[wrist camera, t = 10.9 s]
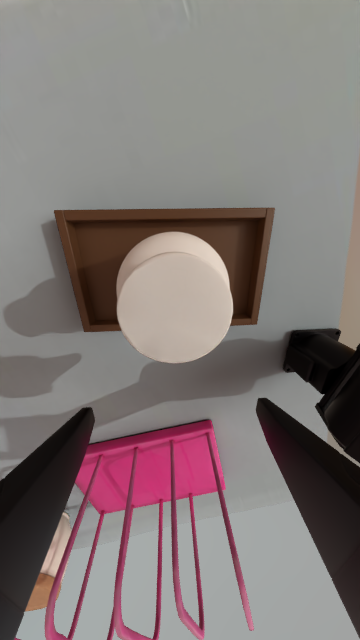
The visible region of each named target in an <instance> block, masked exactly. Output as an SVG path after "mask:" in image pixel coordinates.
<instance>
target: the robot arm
mask: <svg viewBox="0 0 360 640" xmlns="http://www.w3.org/2000/svg"><path fill="white" fill-rule="evenodd" d="M340 334H341V331H340V330H338V329H316V330H296V331H293V332H292V334H291V338H290V342H289V346H288V350H287V354H286V358H285V362H284V367H283V370H284V371H285V372H287V373H288V372H296V373H297V374H298V375H299V376H300V377H301V378H302V379H303V380H304V381H305V382H309V383H310V384H311V385H312V386H313V387H314V388H315V389H316V390H317V391H319V392H320V393H321V394H325V395H324V396H323V397H322V399H321V400H320V402H319V403H317V404H316V406H315V408H316V409H317V411H318V413H319V414H320V416H321V418H322V419H323V421H324V423H325V424H326V426H327V428H328V430H329V431H330V433H331V434H332V436H333V437H334V439H335V440H336V442H337V443H338V444H339V446H340V447H342V448H343V449H344V452H346V453H347V454H348V455H349V456H351V457H352V458H353V459H355V460H356V461H358V462H359V463H360V344H359V345H358V346H357V350H356V351H355V350H353V349H351V348H349V347H348V346H346V345H344V344H342V343H340V342H338V339H339V336H340ZM256 413H257V416H258V419H259V422H260V424H261V427H262V430H263V433H264V435H265V438H266V441H267V443H268V445H269V448H270V450H271V452H272V454H273V456H274V458H275V460H276V462H277V465H278V467H279V469H280V471H281V473H282V475H283V477H284V479H285V481H286V484H287V486H288V488H289V490H290V492H291V494H292V496H293V498H294V500H295V503H296V505H297V507H298V509H299V511H300V513H301V515H302V517H303V519H304V522H305V524H306V526H307V528H308V530H309V532H310V534H311V536H312V538H313V541H314V543H315V545H316V547H317V549H318V551H319V553H320V555H321V557H322V560H323V562H324V564H325V566H326V568H327V570H328V572H329V574H330V576H331V578H332V581H333V583H334V585H335V587H336V589H337V591H338V594H339V596H340V598H341V600H342V602H343V604H344V606H345V608H346V611H347V613H348V615H349V617H350V619H351V621H352V623H353V625H354V627H355V630H356V632H357V634H358V636H359V638H360V467H359V466H357V465H356V464H354V463H353V462H352V461H350V460H349V459H348V458H346V457H345V456H344V455H342V454H340V453H339V452H338V451H337V450H336V449H334V448H333V447H331V446H330V445H329V444H327V443H326V442H325V441H323V440H322V439H321V438H319V437H318V436H317V435H315V434H314V433H313V432H311V431H310V430H309V429H307V428H306V427H305V426H303V425H302V424H301V423H299V422H298V421H297V420H295V419H294V418H293V417H291V416H290V415H289V414H287V413H286V412H285V411H283V410H282V409H281V408H279V407H278V406H277V405H275V404H274V403H273V402H271V401H270V400H269V399H267V398H259V399H258V401H257V406H256ZM94 422H95V417H94V414H93V410H92V408H91V407H86V408H82V409H81V410H80V411H79V412H78V413H76V414H75V415H74V416H73V417H72V418H71V419H70V420H69V421H67V422H66V423H65V424H64V425H63V426H62V427H61V428H60V429H58V430H57V431H56V432H55V433H54V434H53V435H52V436H51V437H49V438H48V439H47V440H46V441H45V442H44V443H43V444H42V445H40V446H39V447H38V448H37V449H36V450H35V451H34V452H33V453H31V454H30V455H29V456H28V457H27V458H26V459H25V460H23V461H22V462H21V463H20V464H19V465H18V466H17V467H16V468H14V469H13V470H12V471H11V472H10V473H9V474H8V475H7V476H6V477H5V478H3V479H2V480H1V481H0V640H14V639H15V636H16V634H17V631H18V628H19V626H20V623H21V621H22V618H23V615H24V612H25V610H26V607H27V605H28V602H29V600H30V597H31V594H32V592H33V589H34V587H35V584H36V581H37V579H38V576H39V574H40V571H41V569H42V566H43V563H44V561H45V558H46V556H47V553H48V550H49V548H50V545H51V543H52V540H53V537H54V535H55V532H56V530H57V527H58V525H59V522H60V519H61V517H62V514H63V512H64V509H65V506H66V504H67V501H68V499H69V496H70V494H71V491H72V488H73V486H74V483H75V481H76V478H77V475H78V473H79V470H80V468H81V465H82V462H83V460H84V457H85V454H86V451H87V447H88V444H89V440H90V437H91V433H92V430H93V426H94Z"/></svg>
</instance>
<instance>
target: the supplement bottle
mask: <svg viewBox="0 0 360 640" xmlns="http://www.w3.org/2000/svg"><path fill="white" fill-rule="evenodd" d="M116 291H117V299H118V300H117V318H118V322H119V325H120V328H121V330H122V332H123V334H124V336H125V338H126V339H127V340H128V341H129V343H130V344H131V345H132V346H133V347H134V348H135V349H136V350H137V351H139V352H140V353H141V354H143V355H145V356H147V357H149V358H151V359H153V360H156V361H160V362H165V363H184V362H189V361H193V360H196V359H198V358H200V357H202V356H204V355H206V354H208V353H209V352H210V351H212V350H213V349H214V348H215V347H216V346H217V345H218V344H219V343H220V342H221V341H222V339H223V338H224V337H225V335H226V333H227V331H228V329H229V327H230V324H231V320H232V315H233V300H232V295H231V292H230V284H229V277H228V273H227V269H226V267H225V265H224V263H223V261H222V259H221V257H220V256H219V255H218V253H217V252H216V251H215V250H214V249H213V248H212V247H211V246H210V245H209V244H208V243H206V242H205V241H203V240H202V239H200V238H198V237H196V236H194V235H191V234H187V233H183V232H164V233H159V234H156V235H153V236H150V237H148V238H146V239H144V240H143V241H141V242H140V243H138V244H137V245H136V246H135V247H134V248H133V249H132V250H131V251H130V252H129V253H128V255H127V256H126V257H125V259H124V261H123V263H122V265H121V267H120V270H119V273H118V277H117V285H116Z"/></svg>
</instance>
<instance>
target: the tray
mask: <svg viewBox="0 0 360 640" xmlns="http://www.w3.org/2000/svg"><path fill="white" fill-rule="evenodd" d="M274 211H275V208H204V209H118V210H54V214H55V218H56V222H57V226H58V230H59V234H60V238H61V242H62V246H63V249H64V253H65V257H66V261H67V265H68V269H69V273H70V277H71V281H72V285H73V289H74V293H75V297H76V301H77V305H78V309H79V313H80V317H81V321H82V325H83V329H84V332H100V331H122V330H121V328H120V325H119V322H118V318H117V300H118V299H117V291H116V285H117V277H118V273H119V270H120V267H121V265H122V263H123V261H124V259H125V257H126V256H127V255H128V253H129V252H130V251H131V250H132V249H133V248H134V247H135V246H136V245H137V244H138V243H140V242H141V241H143V240H144V239H146V238H148V237H150V236H153V235H156V234H159V233H164V232H183V233H187V234H191V235H194V236H196V237H198V238H200V239H202V240H203V241H205V242H206V243H208V244H209V245H210V246H211V247H212V248H213V249H214V250H215V251H216V252H217V253H218V255H219V256H220V257H221V259H222V261H223V263H224V265H225V267H226V269H227V273H228V277H229V284H230V292H231V295H232V300H233V315H232V320H231V324H230V326H234V325H250V324H251V325H254V324H257V321H258V314H259V308H260V301H261V295H262V288H263V282H264V276H265V269H266V263H267V256H268V250H269V244H270V237H271V231H272V224H273V218H274Z"/></svg>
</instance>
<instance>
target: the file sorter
mask: <svg viewBox="0 0 360 640" xmlns="http://www.w3.org/2000/svg"><path fill="white" fill-rule="evenodd" d="M75 483H76V484H77V486H78V487H79V488H80V490H81V491H82V492H83V493H84V495H85V496H84V499H83V502H82V505H81V507H80V510H79V513H78V515H77V518H76V521H75V524H74V526H73V529H72V532H71V535H70V537H69V540H68V543H67V546H66V548H65V551H64V554H63V556H62V559H61V562H60V565H59V568H58V571H57V573H56V576H55V579H54V582H53V585H52V588H51V591H50V595H49V600H48V604H47V609H46V615H45V637H46V640H72V638H73V635H74V632H75V628H76V625H77V621H78V618H79V614H80V610H81V606H82V602H83V598H84V593H85V590H86V586H87V582H88V578H89V574H90V570H91V566H92V561H93V558H94V554H95V550H96V546H97V542H98V537H99V533H100V529H101V525H102V521H103V517H104V514H106V513H111V512H116V511H121V510H125V517H124V524H123V531H122V537H121V544H120V551H119V558H118V565H117V572H116V580H115V592H114V607H113V612H112V618H111V624H110V629H109V633H108V637H107V640H112V637H113V633H114V628H115V629H116V633H117V635H118V637H119V638H121V639H122V640H158V638H159V630H160V617H161V577H162V576H161V575H162V518H163V502H167V501H171V524H172V565H173V583H174V592H175V601H176V607H177V611H178V616H179V618H180V620H181V621H182V622H183V624H185V626H186V627H187V628H188V629H189V630H190V631H191V632H192V633H193V634H194V635H195V636H196V637H197V638H198V639H199V640H203V638H204V612H203V600H202V590H201V580H200V569H199V559H198V549H197V539H196V529H195V518H194V508H193V498H192V496H198V495H202V494H207V493H212V492H217V491H218V494H219V499H220V503H221V508H222V513H223V518H224V522H225V526H226V531H227V536H228V540H229V545H230V549H231V554H232V558H233V564H234V568H235V572H236V577H237V581H238V586H239V590H240V595H241V599H242V604H243V608H244V611H245V615H246V619H247V623H248V627H249V630H250V631H252V630H254V626H253V622H252V617H251V612H250V607H249V602H248V598H247V593H246V589H245V585H244V580H243V576H242V572H241V567H240V563H239V559H238V555H237V551H236V547H235V542H234V538H233V534H232V529H231V525H230V521H229V517H228V512H227V508H226V504H225V500H224V495H223V491H222V490H225V489H226V487H225V482H224V477H223V473H222V468H221V463H220V458H219V454H218V449H217V444H216V439H215V434H214V430H213V425H212V421H211V420H207V421H202V422H197V423H193V424H188V425H183V426H178V427H173V428H169V429H164V430H159V431H154V432H149V433H144V434H140V435H135V436H130V437H125V438H120V439H116V440H111V441H106V442H101V443H97V444H92V445H88V447H87V451H86V454H85V457H84V460H83V462H82V465H81V468H80V470H79V473H78V475H77V478H76V481H75ZM187 497H189V500H190V511H191V523H192V534H193V546H194V558H195V568H196V580H197V592H198V605H199V621H200V622H199V626H198V625H197V624H196V623H195V622H194V621H193V619H192V618H191V617H190V616H189V614H188V613H187V612H186V610H185V609H184V607H183V602H182V597H181V589H180V582H179V581H180V580H179V566H178V544H177V515H176V500H177V499H182V498H187ZM88 500H89V501H90V502H91V504H92V505H93V506H94V508H95V509H96V510H97V511H98V513H99V514H101V515H100V519H99V523H98V527H97V531H96V534H95V539H94V542H93V546H92V550H91V554H90V558H89V562H88V566H87V569H86V573H85V577H84V581H83V584H82V588H81V592H80V596H79V600H78V604H77V608H76V612H75V615H74V619H73V622H72V626H71V629H70V632H69V635H68V638H66V637H65V636H63V635H62V634H59V633H58V632H56V630H55V626H54V615H53V614H54V608H55V601H56V596H57V592H58V589H59V585H60V582H61V579H62V576H63V573H64V570H65V567H66V564H67V561H68V558H69V555H70V552H71V549H72V546H73V543H74V540H75V537H76V534H77V532H78V529H79V526H80V523H81V520H82V518H83V515H84V512H85V509H86V506H87V503H88ZM157 503H160V504H159V540H158V574H157V602H156V604H157V605H156V622H155V632H154V636H153V639H151V638H148V637H145V636H143V635H141V634H139V633H137V632H135V631H133V630H131V629H129V628H128V627H126V626H124V623H123V621H122V615H121V586H122V578H123V571H124V565H125V558H126V552H127V545H128V539H129V533H130V526H131V519H132V513H133V508H137V507H142V506H147V505H152V504H157ZM14 640H20V639H17V638H16V637H15V639H14Z"/></svg>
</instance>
